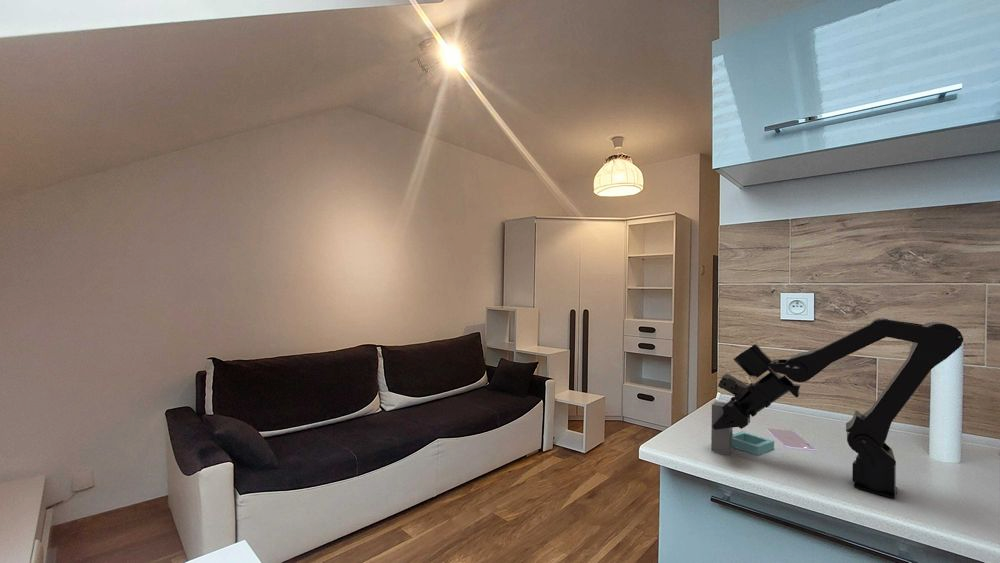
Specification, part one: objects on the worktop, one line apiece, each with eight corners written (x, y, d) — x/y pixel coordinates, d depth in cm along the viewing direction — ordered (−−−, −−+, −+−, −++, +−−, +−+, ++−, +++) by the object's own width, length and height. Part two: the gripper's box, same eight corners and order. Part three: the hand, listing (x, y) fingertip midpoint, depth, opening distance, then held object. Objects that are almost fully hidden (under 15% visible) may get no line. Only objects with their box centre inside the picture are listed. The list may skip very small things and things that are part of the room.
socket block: (774, 449, 111) (774, 441, 111) (757, 455, 106) (757, 447, 106) (742, 438, 118) (742, 431, 118) (725, 444, 113) (725, 436, 113)
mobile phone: (793, 430, 124) (817, 449, 109) (793, 433, 124) (817, 452, 109) (765, 427, 126) (785, 445, 111) (765, 430, 126) (785, 449, 111)
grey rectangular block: (732, 450, 109) (732, 404, 109) (729, 455, 106) (729, 407, 106) (715, 446, 112) (715, 401, 112) (711, 451, 109) (711, 404, 109)
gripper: (746, 361, 114) (702, 393, 121) (732, 371, 99) (683, 407, 106) (779, 394, 108) (732, 426, 116) (770, 410, 94) (717, 445, 101)
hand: (716, 425), depth 110 cm, fingers open, 6 cm apart
